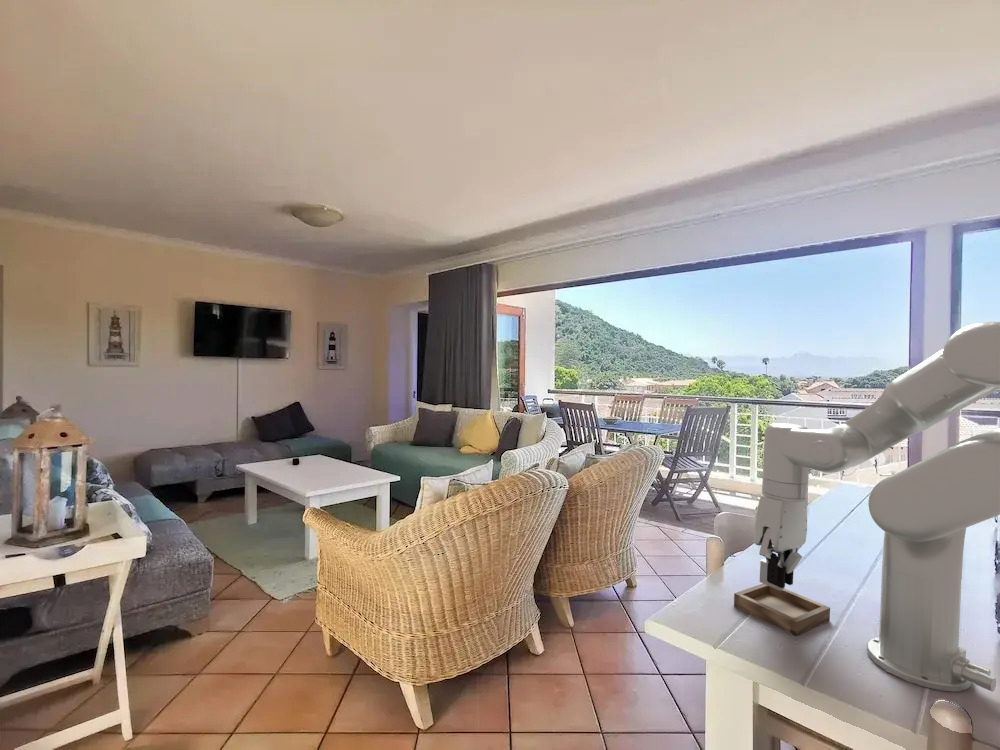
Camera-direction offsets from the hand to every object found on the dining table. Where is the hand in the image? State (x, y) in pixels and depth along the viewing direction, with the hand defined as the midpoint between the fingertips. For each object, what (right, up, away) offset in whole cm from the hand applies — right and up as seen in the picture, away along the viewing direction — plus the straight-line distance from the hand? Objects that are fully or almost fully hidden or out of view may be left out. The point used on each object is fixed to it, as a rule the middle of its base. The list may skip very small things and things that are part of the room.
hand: (779, 582), depth 94 cm
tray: (0, -6, 0) cm, 6 cm away
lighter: (0, -1, 0) cm, 1 cm away
